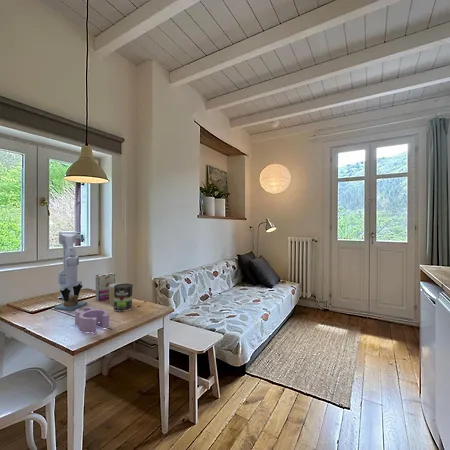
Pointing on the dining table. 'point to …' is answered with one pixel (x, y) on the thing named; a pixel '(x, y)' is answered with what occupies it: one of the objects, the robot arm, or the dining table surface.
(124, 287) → the coffee can
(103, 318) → the clip
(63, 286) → the robot arm
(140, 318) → the dining table surface
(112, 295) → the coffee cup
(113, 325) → the dining table surface
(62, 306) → the slate board
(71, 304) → the walnut cube
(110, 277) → the candy bar box
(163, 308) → the dining table surface
